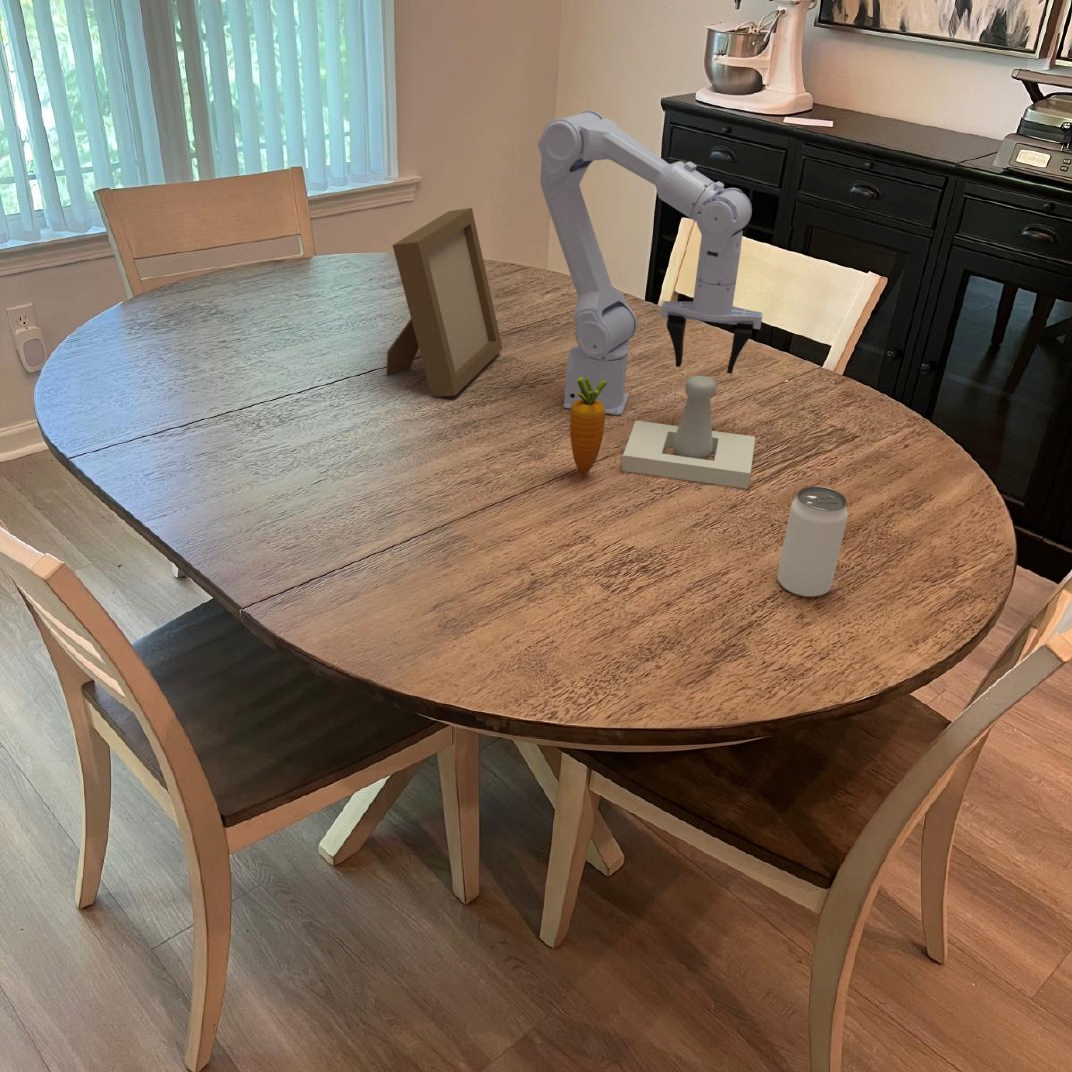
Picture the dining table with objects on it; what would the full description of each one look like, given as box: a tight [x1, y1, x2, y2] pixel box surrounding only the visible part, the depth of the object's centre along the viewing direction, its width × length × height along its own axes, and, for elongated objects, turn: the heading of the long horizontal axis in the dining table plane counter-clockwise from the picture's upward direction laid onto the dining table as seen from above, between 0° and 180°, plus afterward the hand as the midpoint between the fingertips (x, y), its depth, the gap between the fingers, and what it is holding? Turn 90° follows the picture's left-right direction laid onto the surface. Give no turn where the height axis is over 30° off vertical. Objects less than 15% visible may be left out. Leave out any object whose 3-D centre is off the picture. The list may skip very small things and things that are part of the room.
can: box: [777, 485, 848, 598], centre depth 122 cm, size 6×6×12 cm
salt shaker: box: [672, 375, 717, 460], centre depth 148 cm, size 6×6×13 cm
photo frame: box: [385, 207, 503, 398], centre depth 170 cm, size 15×22×25 cm
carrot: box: [569, 377, 607, 477], centre depth 142 cm, size 5×5×15 cm
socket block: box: [621, 420, 756, 490], centre depth 151 cm, size 18×12×2 cm, turn 77°
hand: (704, 367), depth 155 cm, fingers open, 7 cm apart
